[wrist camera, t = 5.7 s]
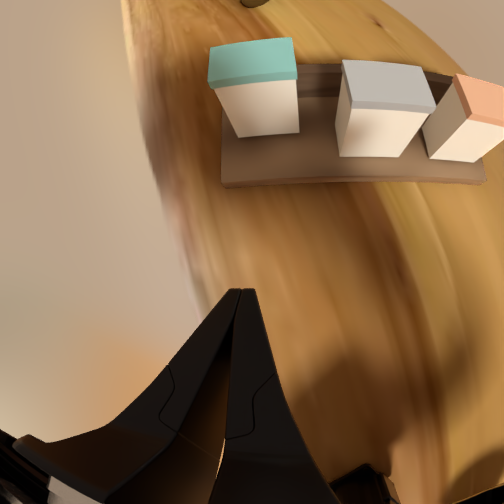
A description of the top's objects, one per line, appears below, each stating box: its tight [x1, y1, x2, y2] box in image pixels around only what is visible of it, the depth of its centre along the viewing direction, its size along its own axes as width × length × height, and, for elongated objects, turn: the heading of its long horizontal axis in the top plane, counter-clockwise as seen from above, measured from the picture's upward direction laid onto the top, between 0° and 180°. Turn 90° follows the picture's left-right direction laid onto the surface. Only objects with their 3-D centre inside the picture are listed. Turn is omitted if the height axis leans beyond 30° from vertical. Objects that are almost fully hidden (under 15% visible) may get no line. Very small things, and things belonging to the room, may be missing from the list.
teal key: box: [207, 37, 299, 138], centre depth 18 cm, size 3×5×8 cm, turn 91°
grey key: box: [335, 60, 437, 157], centre depth 17 cm, size 3×5×8 cm, turn 91°
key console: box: [221, 64, 487, 188], centre depth 20 cm, size 9×24×5 cm, turn 91°
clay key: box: [422, 74, 504, 163], centre depth 15 cm, size 3×5×8 cm, turn 91°
